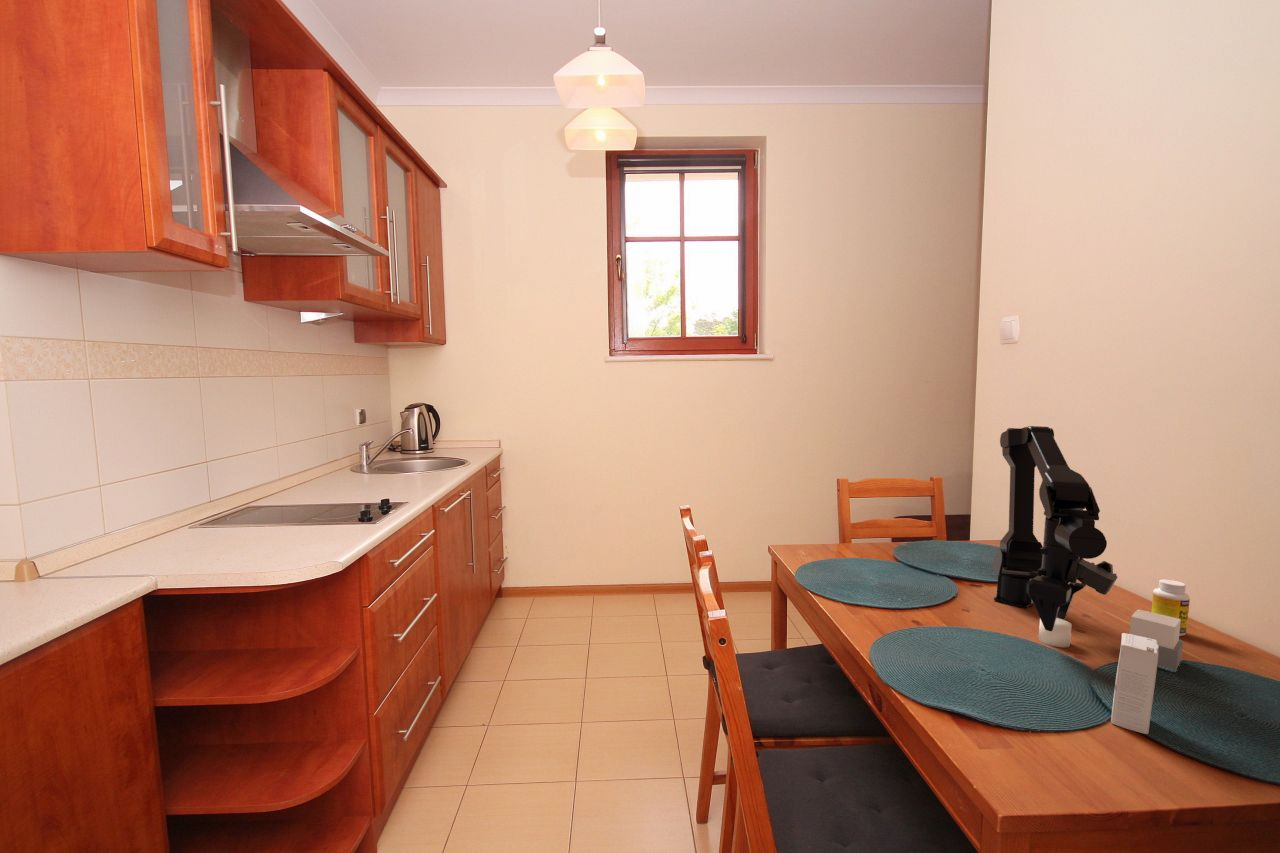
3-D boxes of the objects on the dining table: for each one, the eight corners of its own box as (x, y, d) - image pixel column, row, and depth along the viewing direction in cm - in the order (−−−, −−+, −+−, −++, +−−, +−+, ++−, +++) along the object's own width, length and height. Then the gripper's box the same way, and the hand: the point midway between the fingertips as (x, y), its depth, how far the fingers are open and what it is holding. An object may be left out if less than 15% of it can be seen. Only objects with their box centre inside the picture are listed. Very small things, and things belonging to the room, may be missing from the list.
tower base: (1124, 659, 108) (1126, 638, 108) (1131, 649, 113) (1133, 628, 113) (1175, 674, 103) (1178, 651, 103) (1181, 662, 108) (1183, 641, 107)
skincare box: (1112, 708, 91) (1118, 630, 90) (1151, 719, 88) (1158, 639, 87) (1110, 725, 86) (1117, 643, 85) (1151, 737, 83) (1159, 652, 82)
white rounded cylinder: (1035, 641, 115) (1036, 620, 115) (1042, 634, 118) (1043, 614, 118) (1066, 650, 111) (1068, 629, 111) (1072, 642, 115) (1074, 622, 114)
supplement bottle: (1181, 639, 118) (1185, 588, 117) (1145, 629, 122) (1150, 580, 122) (1190, 633, 121) (1195, 584, 120) (1155, 624, 125) (1159, 576, 125)
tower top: (1129, 638, 108) (1130, 616, 108) (1136, 630, 112) (1137, 609, 112) (1173, 649, 103) (1175, 627, 103) (1178, 640, 107) (1180, 619, 107)
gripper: (1104, 563, 101) (1096, 652, 102) (1124, 545, 114) (1117, 625, 115) (1028, 548, 109) (1022, 631, 111) (1055, 533, 122) (1049, 608, 123)
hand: (1055, 624), depth 115 cm, fingers open, 9 cm apart
